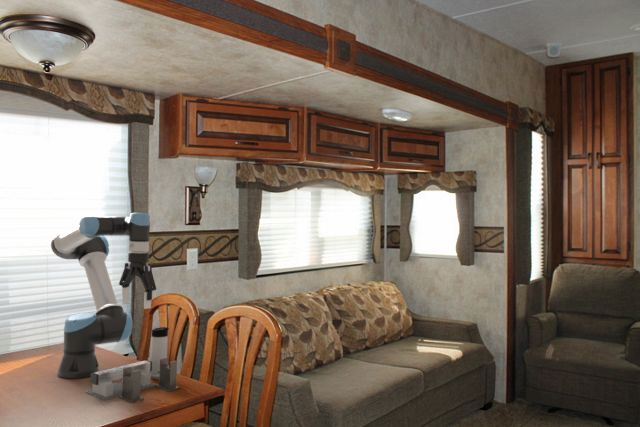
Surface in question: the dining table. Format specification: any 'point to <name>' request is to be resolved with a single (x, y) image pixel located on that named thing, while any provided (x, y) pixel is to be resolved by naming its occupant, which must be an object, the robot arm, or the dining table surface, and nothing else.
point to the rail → (118, 372)
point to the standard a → (131, 385)
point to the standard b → (167, 375)
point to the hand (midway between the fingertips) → (136, 306)
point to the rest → (117, 388)
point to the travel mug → (158, 349)
